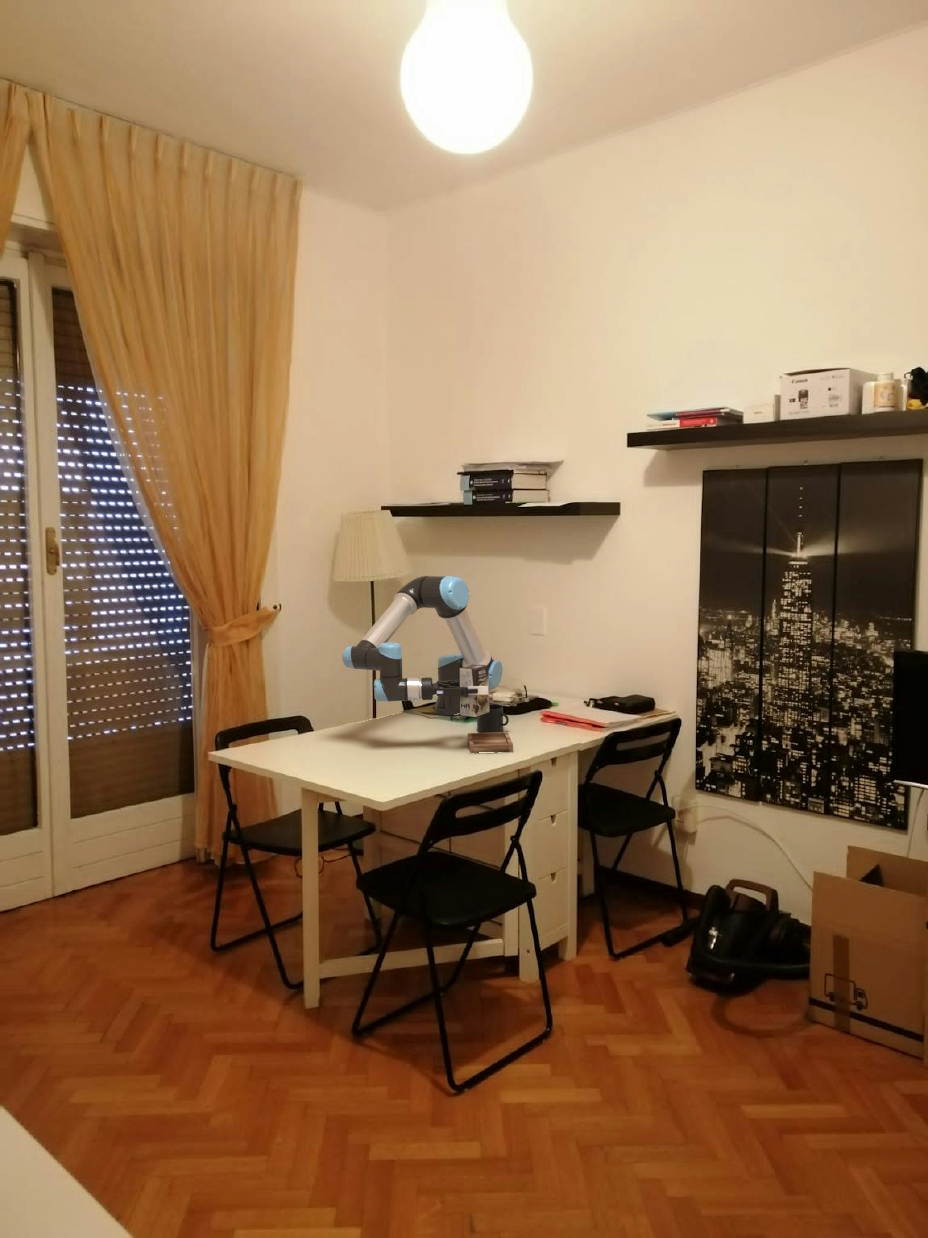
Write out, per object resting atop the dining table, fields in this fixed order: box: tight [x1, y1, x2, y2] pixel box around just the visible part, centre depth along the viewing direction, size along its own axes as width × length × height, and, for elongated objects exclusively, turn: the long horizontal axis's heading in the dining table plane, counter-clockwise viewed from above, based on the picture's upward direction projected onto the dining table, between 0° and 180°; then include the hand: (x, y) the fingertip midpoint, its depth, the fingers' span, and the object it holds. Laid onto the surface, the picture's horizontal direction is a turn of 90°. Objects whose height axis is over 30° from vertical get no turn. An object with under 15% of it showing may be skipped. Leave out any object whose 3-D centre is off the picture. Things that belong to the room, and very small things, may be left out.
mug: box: [476, 703, 510, 733], centre depth 327 cm, size 9×12×9 cm
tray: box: [467, 731, 514, 754], centre depth 307 cm, size 18×14×3 cm
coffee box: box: [459, 665, 490, 718], centre depth 303 cm, size 9×6×16 cm
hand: (486, 686), depth 303 cm, fingers closed on coffee box, 10 cm apart
